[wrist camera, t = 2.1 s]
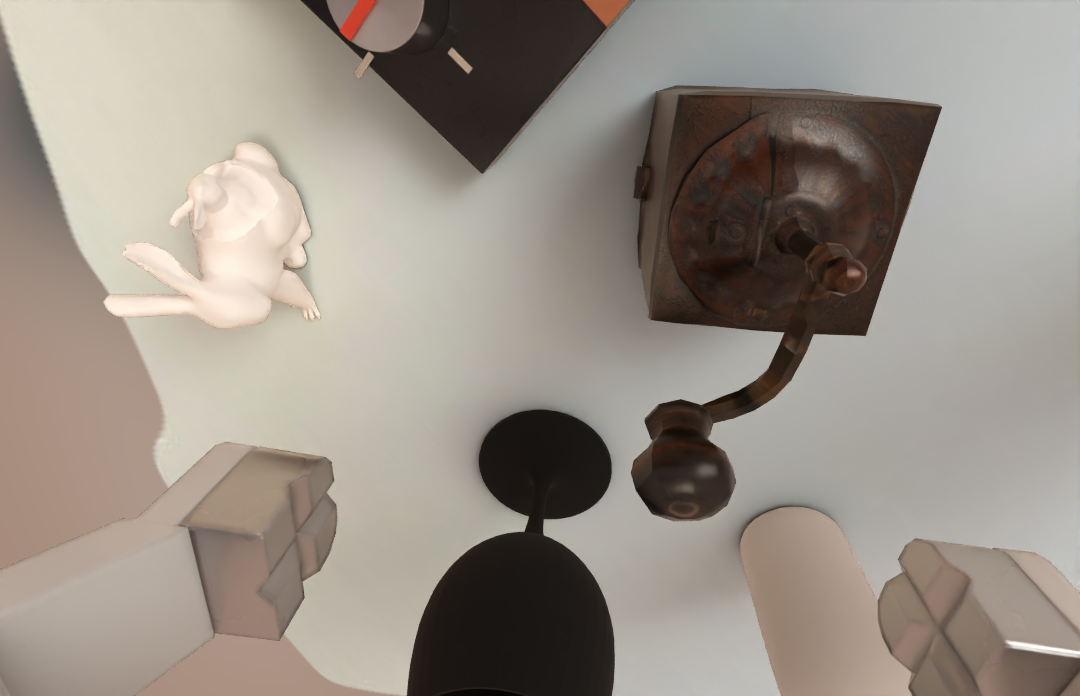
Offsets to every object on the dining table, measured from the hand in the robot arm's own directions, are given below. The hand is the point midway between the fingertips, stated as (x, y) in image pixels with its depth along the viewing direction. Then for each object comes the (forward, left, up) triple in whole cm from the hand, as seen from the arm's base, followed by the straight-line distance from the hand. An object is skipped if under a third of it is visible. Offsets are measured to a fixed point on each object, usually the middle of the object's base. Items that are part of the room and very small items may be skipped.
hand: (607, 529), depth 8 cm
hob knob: (0, -14, -25) cm, 28 cm away
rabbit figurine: (+18, -14, -28) cm, 36 cm away
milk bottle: (+9, +30, -28) cm, 42 cm away
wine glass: (+18, +12, -28) cm, 35 cm away
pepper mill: (-3, +7, -28) cm, 29 cm away
